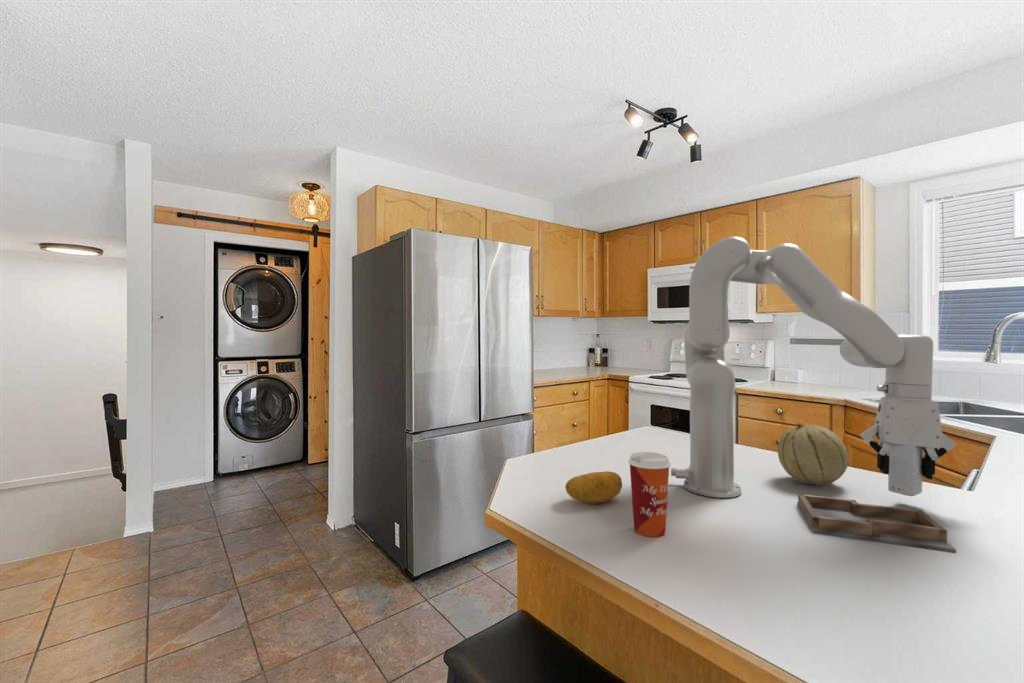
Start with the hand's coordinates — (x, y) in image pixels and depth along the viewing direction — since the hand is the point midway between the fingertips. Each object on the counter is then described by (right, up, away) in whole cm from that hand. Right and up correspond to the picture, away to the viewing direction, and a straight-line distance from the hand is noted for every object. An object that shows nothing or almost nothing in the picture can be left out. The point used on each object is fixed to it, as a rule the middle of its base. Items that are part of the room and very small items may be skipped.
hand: (905, 474), depth 96 cm
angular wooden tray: (-17, -7, -10) cm, 21 cm away
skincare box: (0, -4, 0) cm, 4 cm away
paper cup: (-59, -7, -12) cm, 61 cm away
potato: (-66, -7, +3) cm, 67 cm away
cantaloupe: (-10, -7, +15) cm, 19 cm away
